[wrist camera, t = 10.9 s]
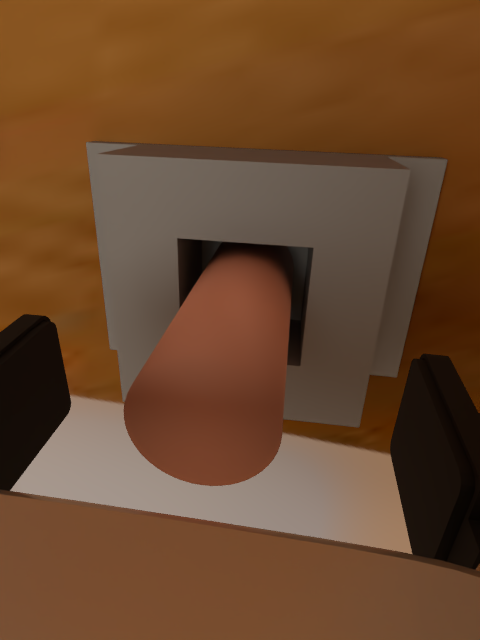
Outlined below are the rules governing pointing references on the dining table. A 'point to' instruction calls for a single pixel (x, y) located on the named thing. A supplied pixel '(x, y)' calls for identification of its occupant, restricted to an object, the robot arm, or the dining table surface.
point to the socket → (272, 229)
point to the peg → (219, 371)
